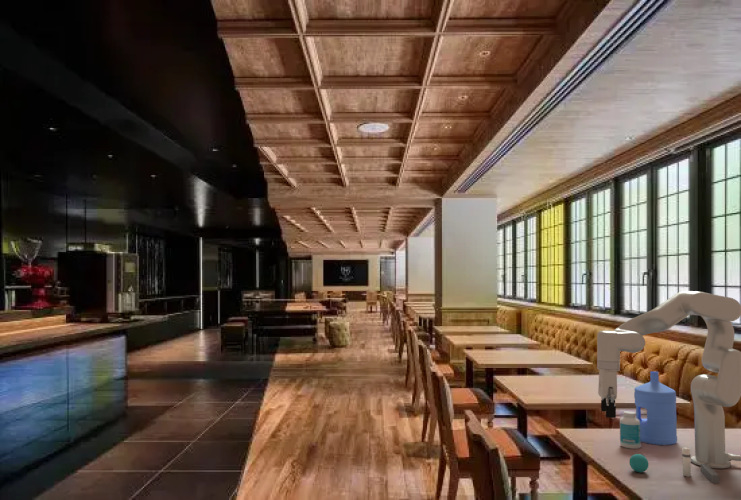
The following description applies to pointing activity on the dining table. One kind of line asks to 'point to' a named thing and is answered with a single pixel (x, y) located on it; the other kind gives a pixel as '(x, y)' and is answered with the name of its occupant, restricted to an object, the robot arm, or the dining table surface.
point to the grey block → (710, 473)
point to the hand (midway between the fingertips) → (608, 414)
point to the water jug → (656, 412)
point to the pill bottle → (629, 430)
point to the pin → (686, 462)
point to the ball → (638, 463)
